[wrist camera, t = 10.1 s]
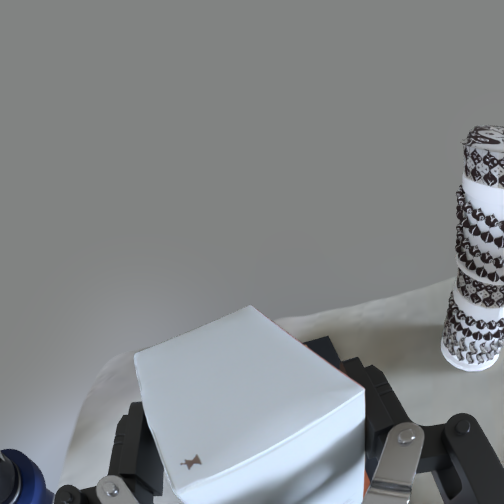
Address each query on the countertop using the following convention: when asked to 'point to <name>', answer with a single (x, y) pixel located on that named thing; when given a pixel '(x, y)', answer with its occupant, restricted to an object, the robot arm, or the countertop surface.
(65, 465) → the countertop surface
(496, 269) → the decorative candle
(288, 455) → the small box
